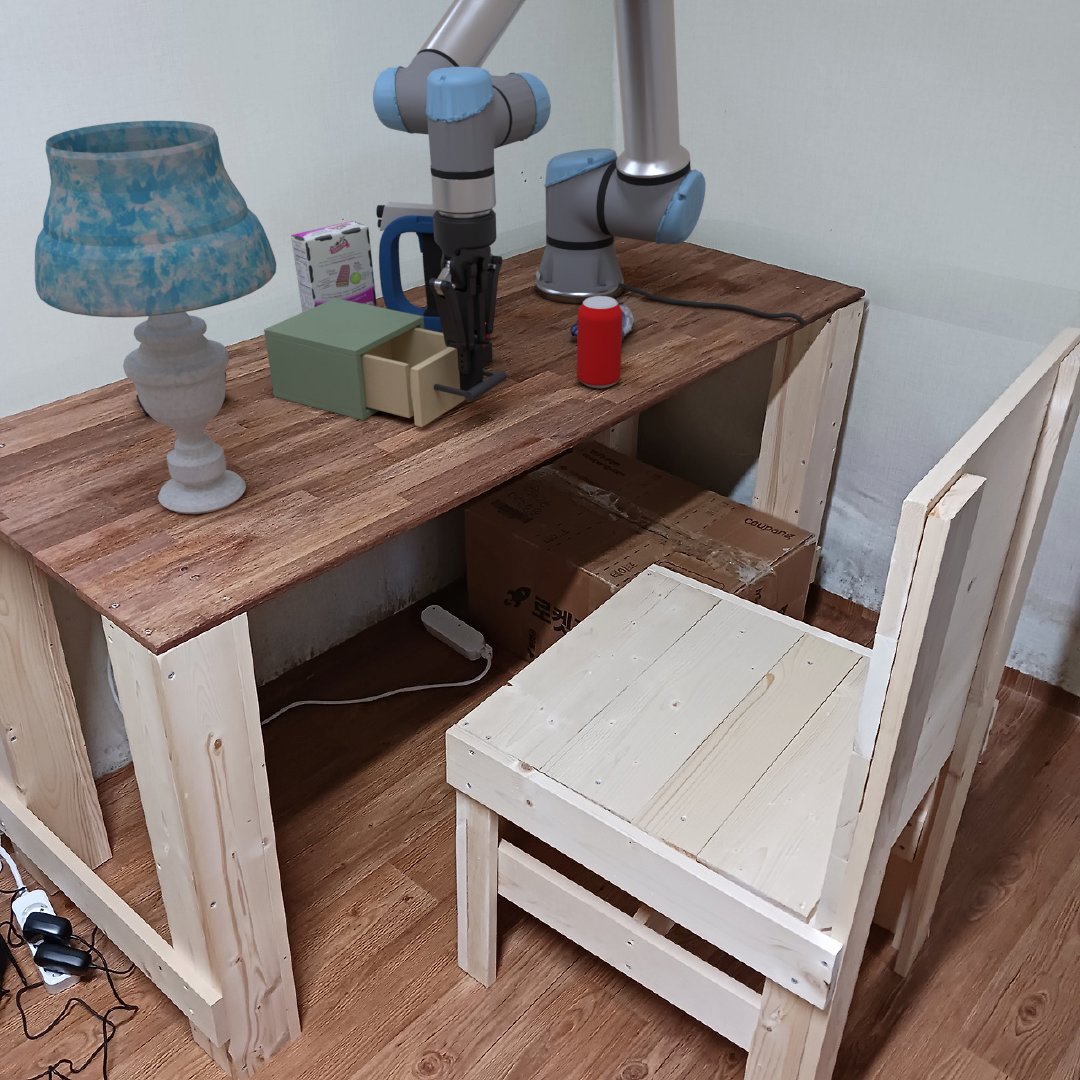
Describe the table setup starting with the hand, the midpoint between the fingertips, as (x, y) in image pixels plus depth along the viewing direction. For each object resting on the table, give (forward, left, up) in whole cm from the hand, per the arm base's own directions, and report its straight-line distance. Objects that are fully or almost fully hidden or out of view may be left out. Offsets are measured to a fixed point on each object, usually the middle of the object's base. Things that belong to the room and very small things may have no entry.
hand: (472, 392), depth 140 cm
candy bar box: (+28, -28, -4) cm, 40 cm away
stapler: (+5, -17, -4) cm, 18 cm away
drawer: (+7, -3, -3) cm, 8 cm away
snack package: (-14, -33, -4) cm, 36 cm away
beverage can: (-15, -15, -4) cm, 21 cm away
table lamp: (+26, +25, -4) cm, 37 cm away
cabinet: (+19, -7, -4) cm, 21 cm away
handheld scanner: (+14, -33, -4) cm, 36 cm away
